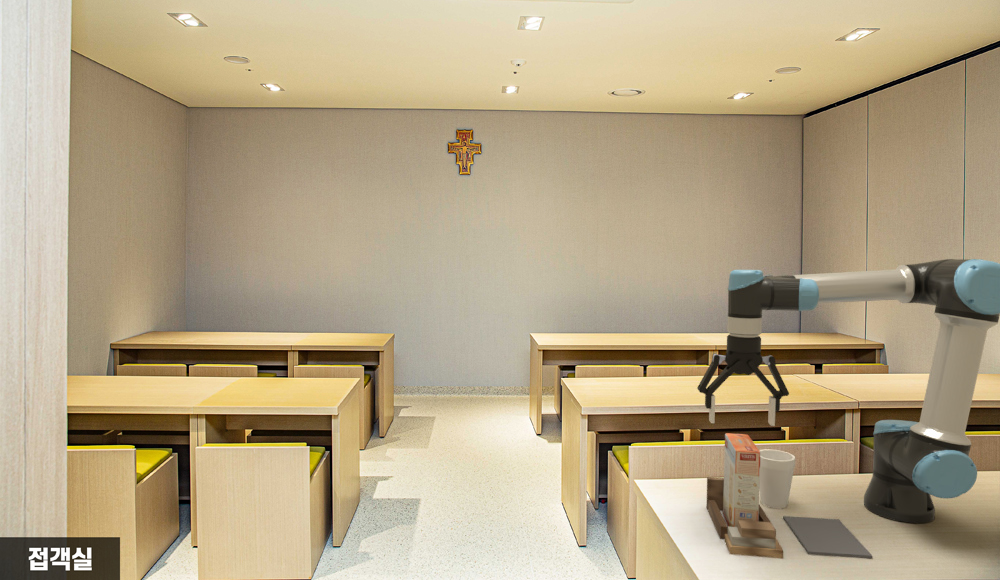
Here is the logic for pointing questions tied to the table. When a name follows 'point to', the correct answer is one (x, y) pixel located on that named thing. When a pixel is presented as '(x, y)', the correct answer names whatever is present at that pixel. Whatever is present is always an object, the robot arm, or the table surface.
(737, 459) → the cracker box
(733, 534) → the offcut stack
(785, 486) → the foam cup
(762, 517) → the rack
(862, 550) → the mat
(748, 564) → the table surface
